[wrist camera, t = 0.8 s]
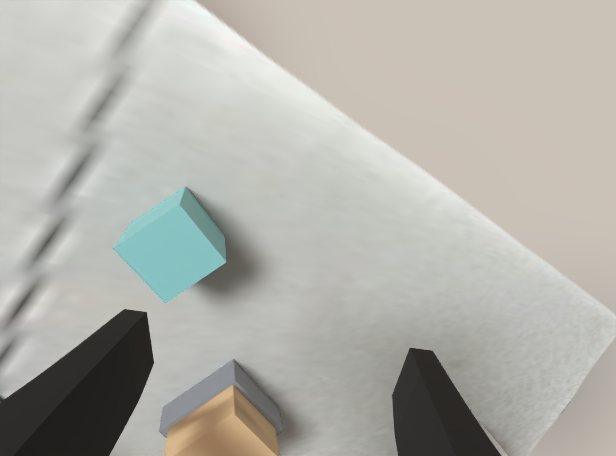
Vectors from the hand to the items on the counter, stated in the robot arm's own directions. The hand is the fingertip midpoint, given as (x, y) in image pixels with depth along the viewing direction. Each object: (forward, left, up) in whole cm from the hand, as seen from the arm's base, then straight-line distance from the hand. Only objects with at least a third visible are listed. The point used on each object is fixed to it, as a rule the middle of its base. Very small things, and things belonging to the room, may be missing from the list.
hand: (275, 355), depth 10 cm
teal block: (-5, +1, -18) cm, 18 cm away
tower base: (-12, -14, -18) cm, 26 cm away
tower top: (-11, -14, -15) cm, 24 cm away
